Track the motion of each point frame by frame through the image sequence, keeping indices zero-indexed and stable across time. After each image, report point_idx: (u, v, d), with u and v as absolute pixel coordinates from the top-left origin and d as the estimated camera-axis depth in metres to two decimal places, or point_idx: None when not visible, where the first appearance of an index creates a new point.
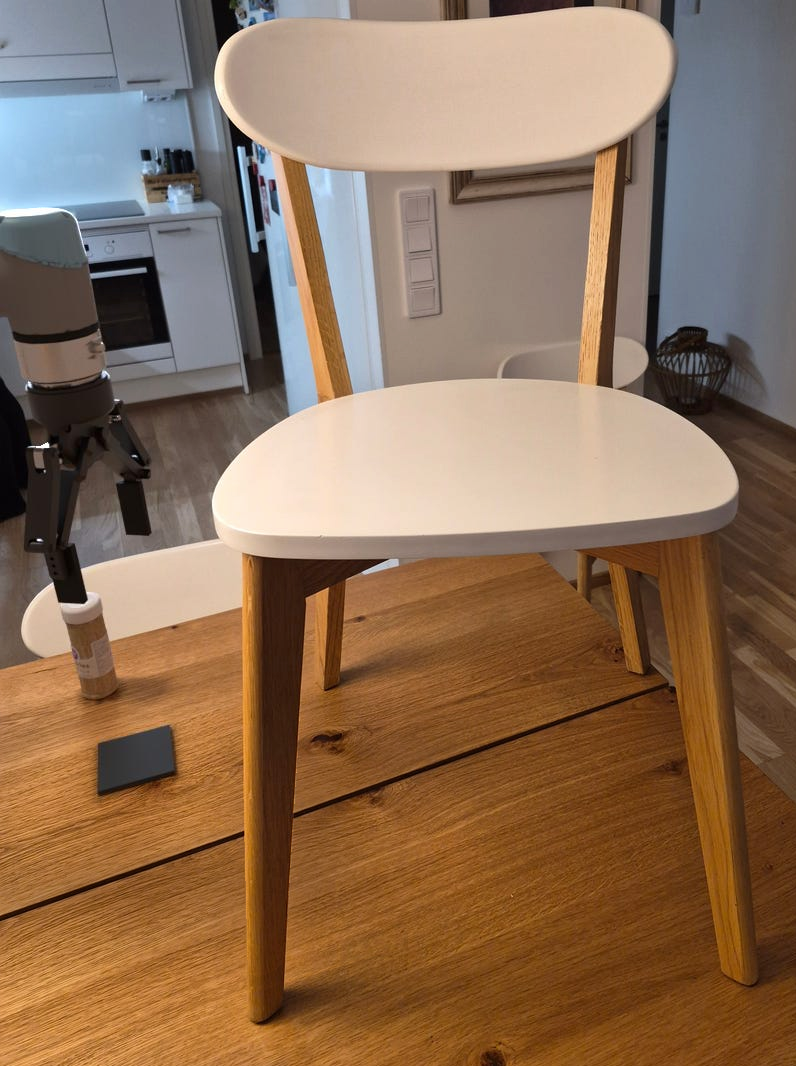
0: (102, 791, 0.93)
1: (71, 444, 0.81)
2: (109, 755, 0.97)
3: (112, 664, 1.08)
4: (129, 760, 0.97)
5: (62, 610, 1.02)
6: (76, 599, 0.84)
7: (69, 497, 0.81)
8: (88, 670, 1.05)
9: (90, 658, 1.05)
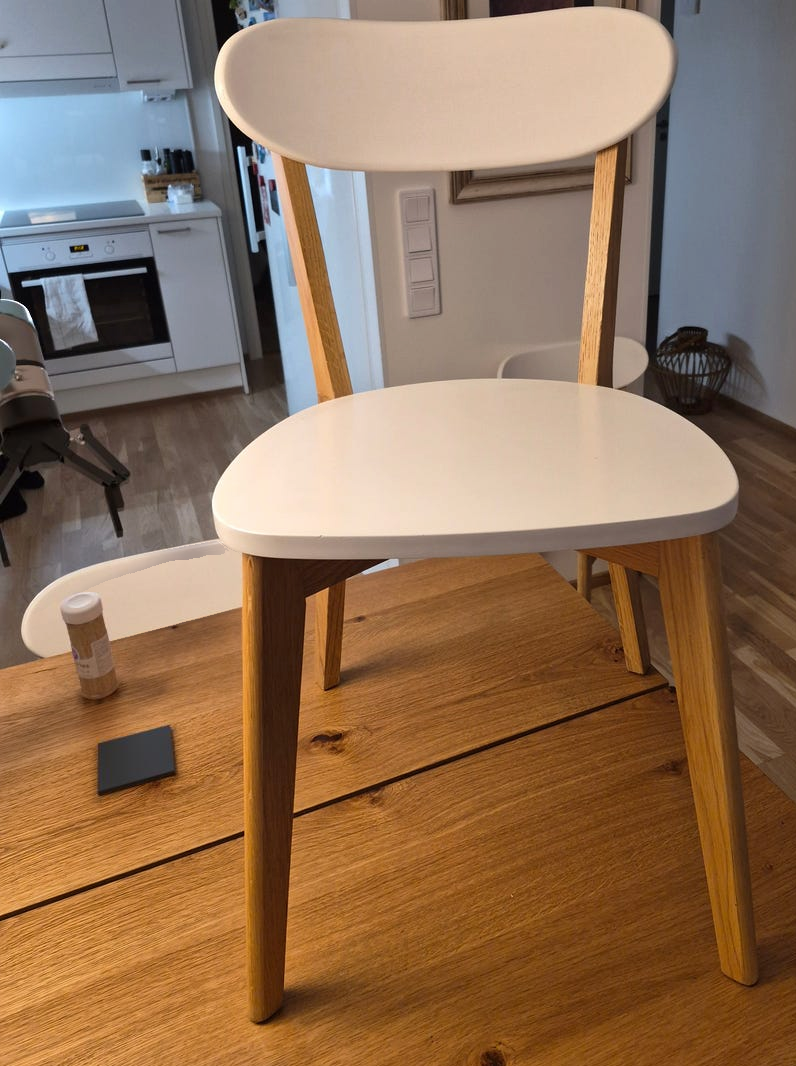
0: (102, 791, 0.93)
1: (8, 445, 1.12)
2: (109, 755, 0.97)
3: (112, 664, 1.08)
4: (129, 760, 0.97)
5: (62, 610, 1.02)
6: None
7: None
8: (88, 670, 1.05)
9: (90, 658, 1.05)
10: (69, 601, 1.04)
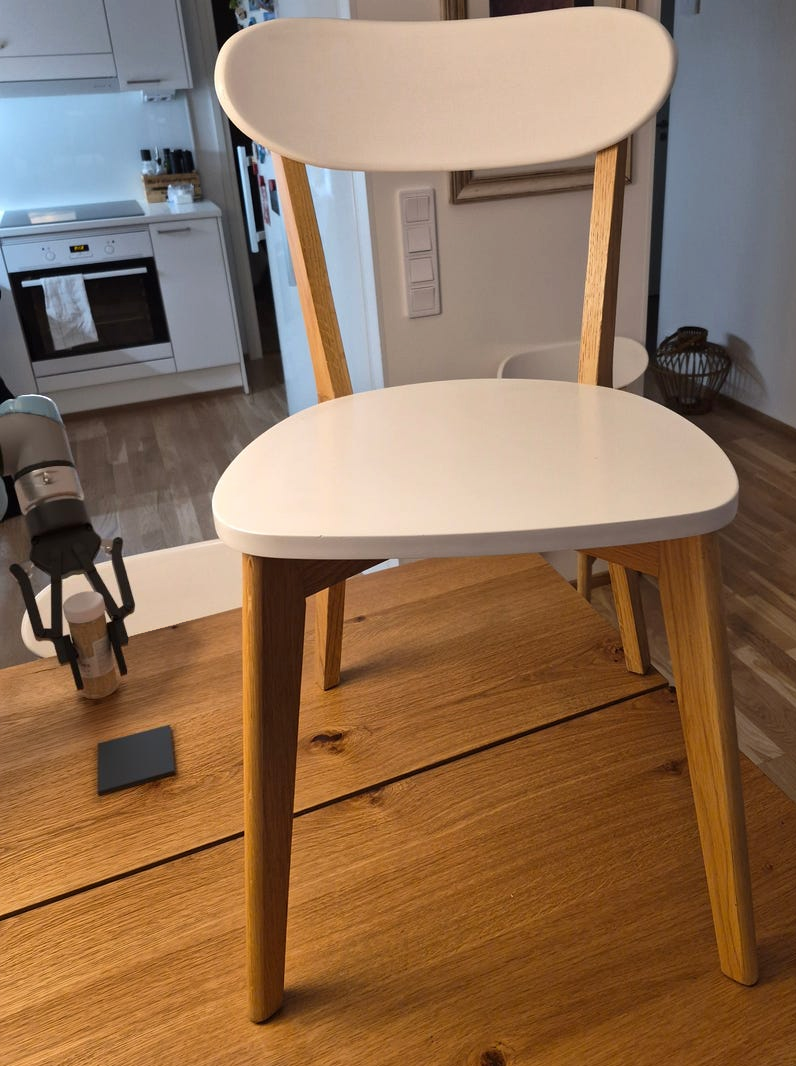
0: (102, 791, 0.93)
1: (37, 553, 1.06)
2: (109, 755, 0.97)
3: (113, 664, 1.08)
4: (129, 760, 0.97)
5: (65, 609, 1.02)
6: None
7: None
8: (89, 669, 1.05)
9: (91, 657, 1.05)
10: (72, 600, 1.04)
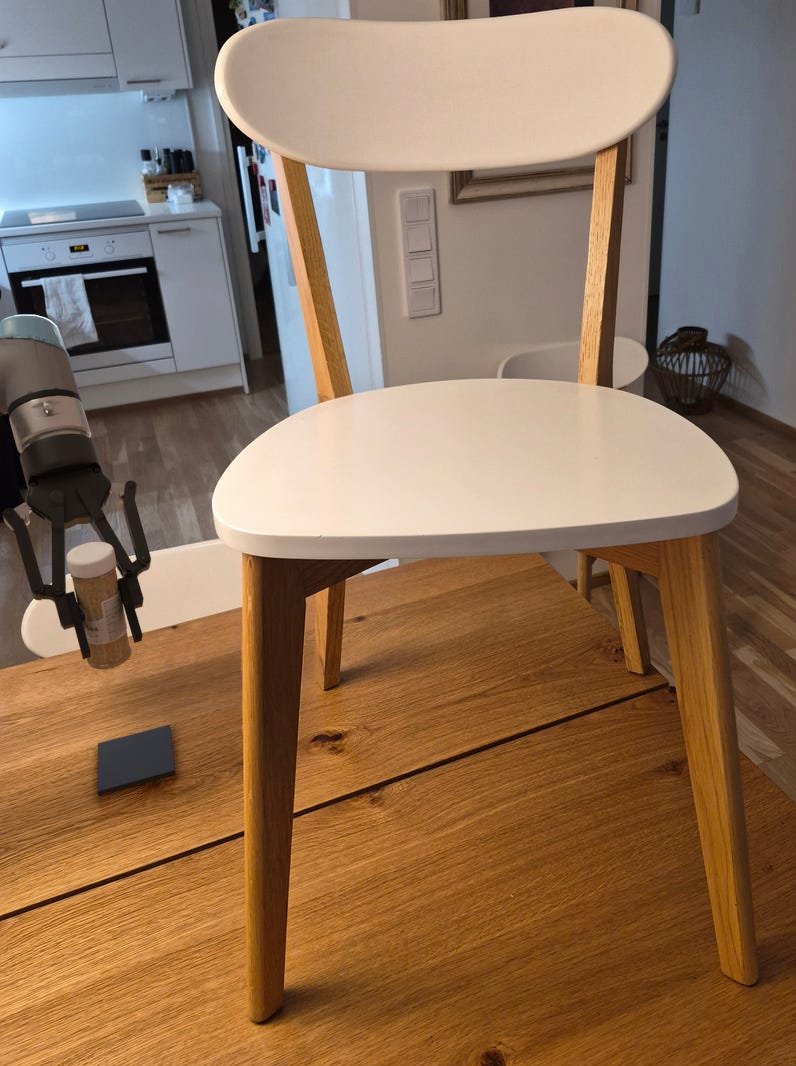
0: (102, 791, 0.93)
1: (36, 497, 0.90)
2: (109, 755, 0.97)
3: (125, 628, 0.91)
4: (129, 760, 0.97)
5: (68, 561, 0.86)
6: (81, 650, 0.86)
7: None
8: (97, 634, 0.89)
9: (100, 620, 0.88)
10: (77, 551, 0.87)
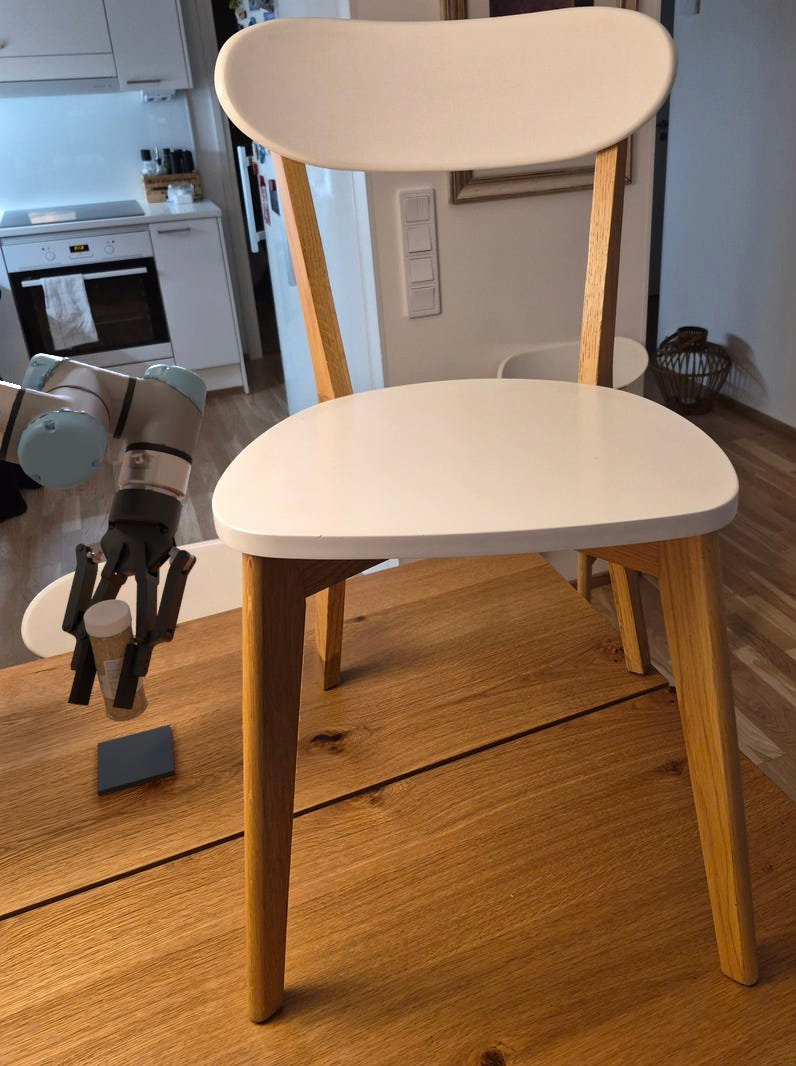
0: (102, 791, 0.93)
1: (106, 540, 0.95)
2: (109, 755, 0.97)
3: None
4: (129, 760, 0.97)
5: None
6: None
7: (94, 593, 0.93)
8: (102, 687, 0.92)
9: (103, 676, 0.91)
10: (99, 606, 0.91)
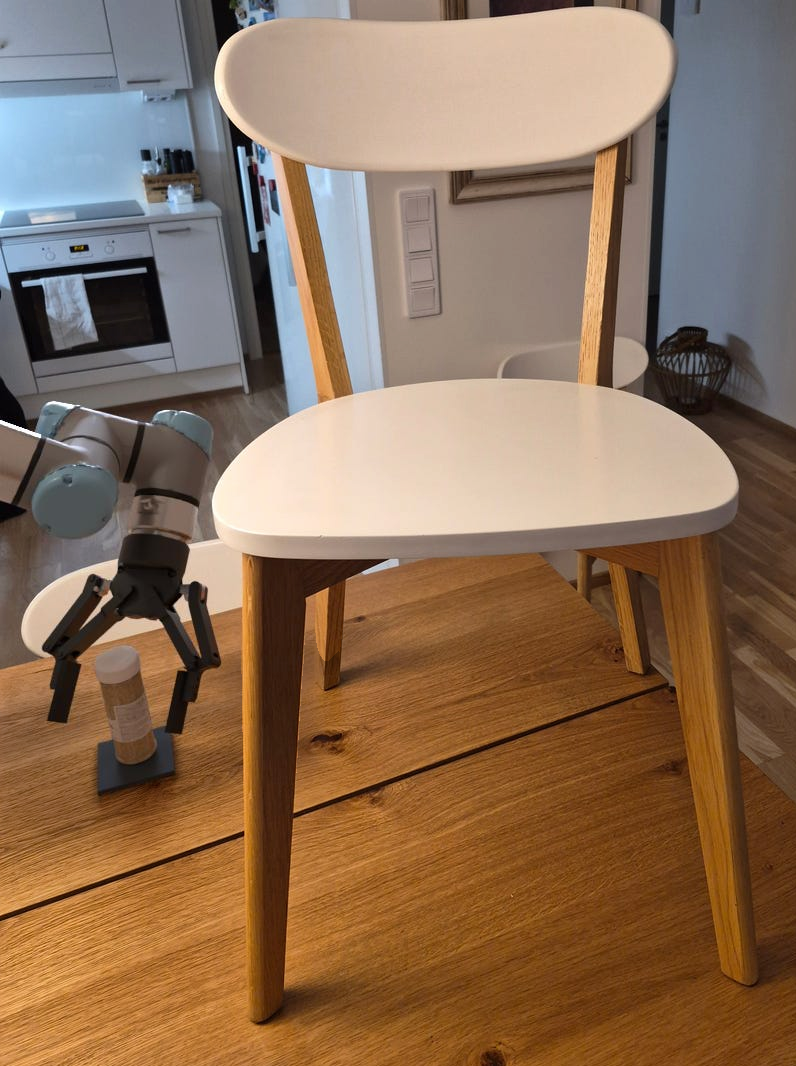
0: (102, 791, 0.93)
1: (116, 583, 0.98)
2: (109, 755, 0.97)
3: (142, 734, 0.95)
4: None
5: (95, 660, 0.92)
6: None
7: (88, 622, 0.96)
8: (112, 731, 0.94)
9: (113, 720, 0.94)
10: (109, 652, 0.93)
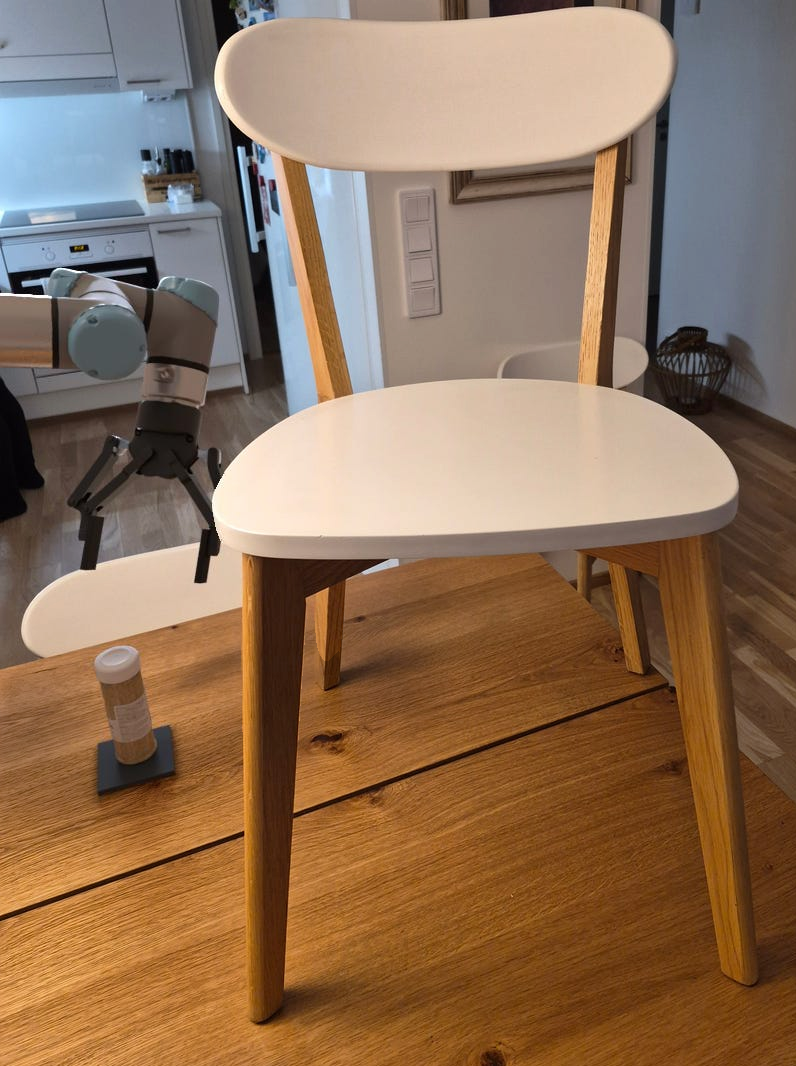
0: (102, 791, 0.93)
1: (135, 446, 1.03)
2: (109, 755, 0.97)
3: (142, 734, 0.95)
4: None
5: (95, 660, 0.92)
6: None
7: (110, 481, 1.03)
8: (112, 731, 0.94)
9: (113, 720, 0.94)
10: (109, 652, 0.93)
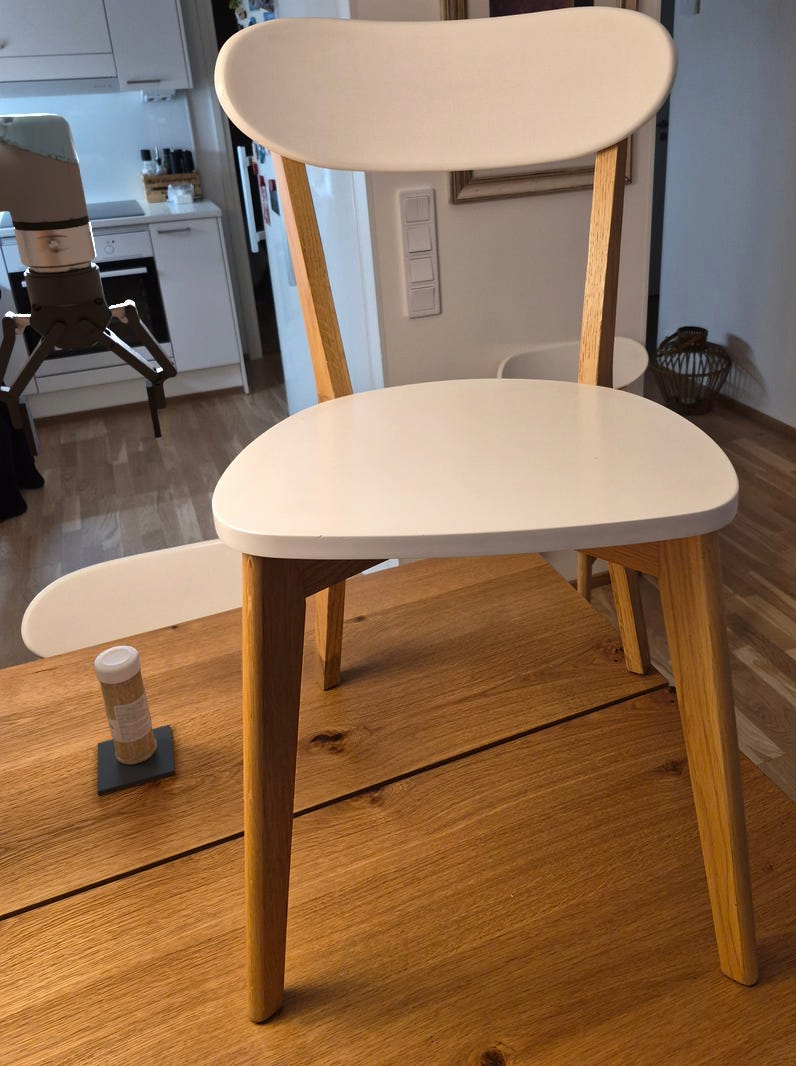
0: (102, 791, 0.93)
1: (39, 322, 0.94)
2: (109, 755, 0.97)
3: (142, 734, 0.95)
4: None
5: (95, 660, 0.92)
6: None
7: (26, 364, 0.95)
8: (112, 731, 0.94)
9: (113, 720, 0.93)
10: (109, 652, 0.93)
